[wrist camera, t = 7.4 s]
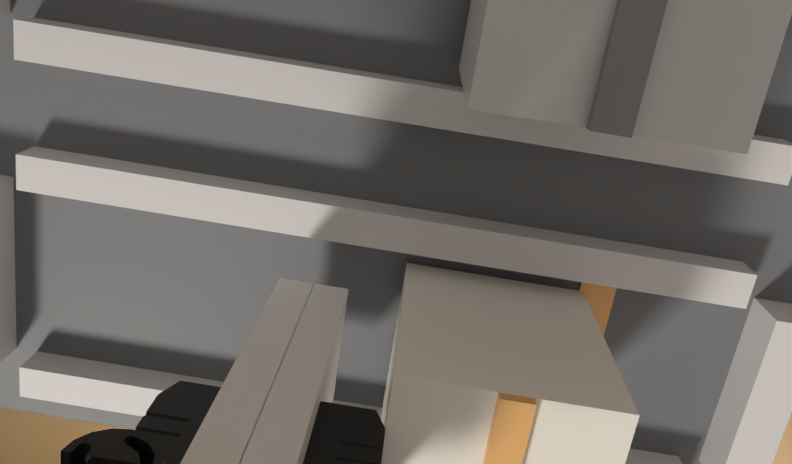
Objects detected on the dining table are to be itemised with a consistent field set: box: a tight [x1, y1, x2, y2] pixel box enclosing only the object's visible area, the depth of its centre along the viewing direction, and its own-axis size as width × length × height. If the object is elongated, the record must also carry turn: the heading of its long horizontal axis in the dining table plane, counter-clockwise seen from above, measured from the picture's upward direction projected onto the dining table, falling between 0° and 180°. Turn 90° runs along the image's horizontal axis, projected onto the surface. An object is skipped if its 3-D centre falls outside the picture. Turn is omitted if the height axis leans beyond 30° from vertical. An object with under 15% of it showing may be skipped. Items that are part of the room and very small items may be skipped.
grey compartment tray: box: [0, 0, 792, 464], centre depth 17 cm, size 20×16×3 cm
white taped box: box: [381, 263, 640, 464], centre depth 15 cm, size 4×4×5 cm
